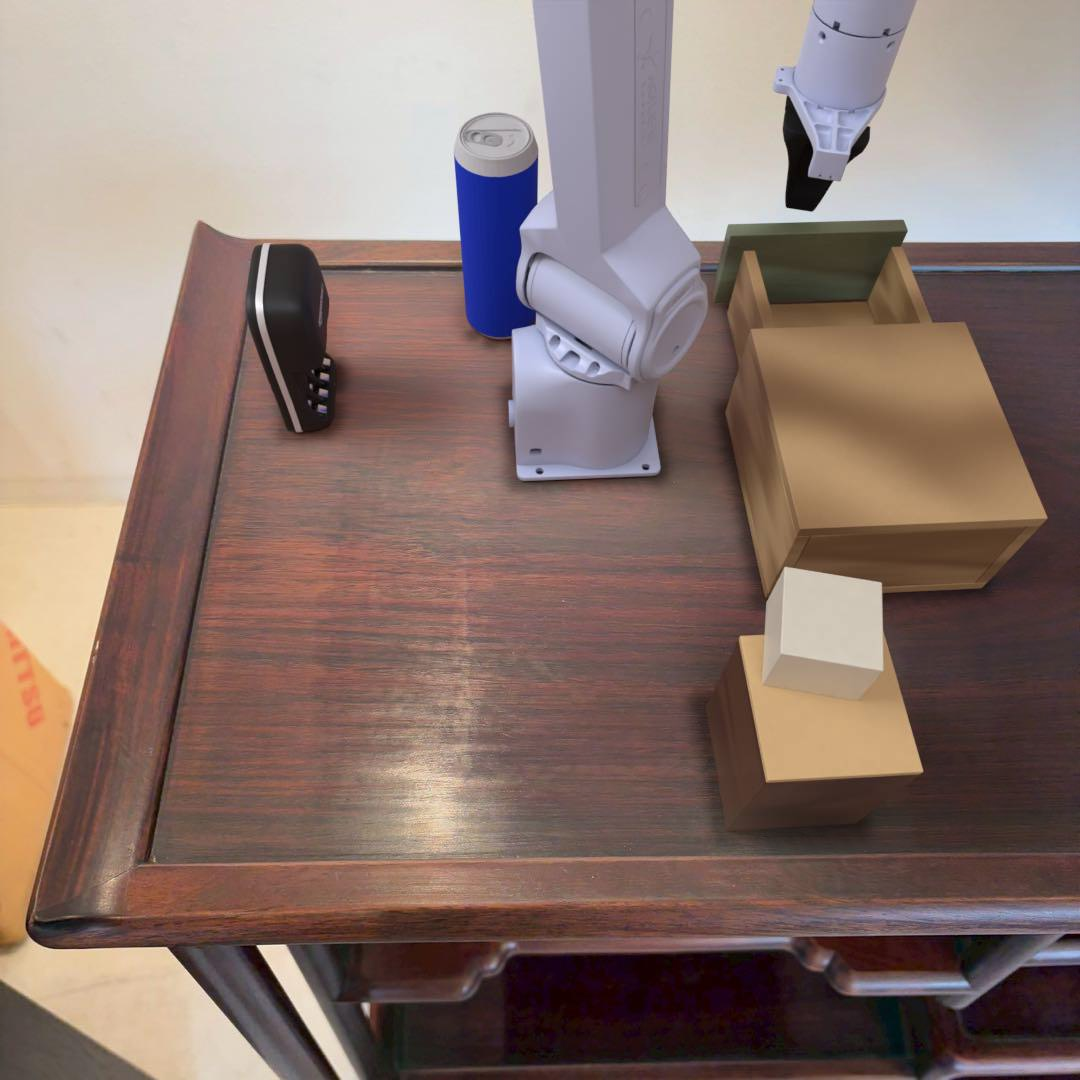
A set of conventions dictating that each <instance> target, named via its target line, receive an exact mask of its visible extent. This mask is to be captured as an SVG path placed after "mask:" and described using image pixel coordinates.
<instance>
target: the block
mask: <svg viewBox="0 0 1080 1080" xmlns="http://www.w3.org/2000/svg"><path fill="white" fill-rule="evenodd" d="M765 603H766V604H765V620H764V635H765V636H764V654H763V672H762V684H763V685H768V686H773V687H779V688H785V689H791V690H796V691H802V692H808V693H814V694H819V695H825V696H831V697H836V698H842V699H848V700H854V701H857V700H858V699H859V698H860V697H861V696H862V695H863V694H864V692H865V691H866V690H867V689H868V688H869V687H870V686H871V685H872V683H873V682H874V681H875V680H876V679H877V678H878V677H879V676H880V674H881V673H882V672H883V671H884V657H883V631H884V617H883V616H884V614H883V613H884V611H883V607H884V606H883V593H882V583H881V582H876V581H870V580H863V579H857V578H851V577H845V576H839V575H833V574H827V573H821V572H815V571H808V570H802V569H796V568H790V567H784V569H783V571H782V573H781V575H780V577H779V579H778V581H777V583H776V585H775V587H774V589H773V591H772V593H771V595H770V597H769V598H767V600H766V602H765Z"/></svg>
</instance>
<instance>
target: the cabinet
mask: <svg viewBox="0 0 1080 1080" xmlns="http://www.w3.org/2000/svg"><path fill="white" fill-rule="evenodd" d="M724 413H725V417H726V423H727V427H728V432H729V437H730V441H731V446H732V451H733V455H734V460H735V465H736V469H737V470H736V471H737V474H738V479H739V483H740V488H741V493H742V498H743V501H744V502H743V503H744V506H745V512H746V515H747V520H748V526H749V529H750V535H751V539H752V544H753V548H754V553H755V558H756V562H757V567H758V573H759V577H760V580H761V586H762V589H763V595H764V598H765V599H769V597H770V595H771V593H772V591H773V589H774V587H775V585H776V583H777V581H778V579H779V577H780V575H781V573H782V571H783V569H784V567H790V568H796V569H802V570H808V571H815V572H821V573H827V574H833V575H839V576H845V577H851V578H857V579H863V580H870V581H876V582H881V583H882V594H890V593H911V592H912V593H915V592H931V591H934V592H935V591H955V590H977V589H983V588H984V587H985V586H986V585H987V584H988V582H989V581H991V579H992V578H993V577H994V576H995V575H997V573H998V572H999V571H1000V570H1001V569H1002V568H1003V567H1004V566H1005V565H1006V563H1008V562H1009V560H1010V559H1011V558H1012V557H1013V556H1014V555H1015V554H1016V553H1017V552H1018V551H1019V550H1020V549H1021V548H1022V547H1023V545H1024V544H1026V542H1027V541H1029V539H1030V538H1031V537H1032V536H1033V535H1034V534H1035V533H1036V532H1037V531H1038V530H1039V528H1040V527H1041V526H1042V525H1043V524H1044V523H1045V522H1046V521H1047V520H1048V519H1049V518H1048V515H1047V513H1046V510H1045V508H1044V505H1043V503H1042V501H1041V498H1040V496H1039V494H1038V491H1037V489H1036V487H1035V484H1034V482H1033V480H1032V477H1031V475H1030V472H1029V470H1028V468H1027V465H1026V463H1025V461H1024V460H1025V459H1024V458H1023V456H1022V454H1021V451H1020V449H1019V446H1018V444H1017V441H1016V439H1015V437H1014V434H1013V433H1012V430H1011V427H1010V425H1009V423H1008V419H1007V418H1006V416H1005V413H1004V411H1003V408H1002V406H1001V404H1000V402H999V399H998V396H997V394H996V391H995V390H994V387H993V384H992V382H991V381H990V377H989V375H988V373H987V371H986V367H985V366H984V364H983V361H982V359H981V356H980V354H979V351H978V349H977V347H976V343H975V342H974V339H973V337H972V335H971V332H970V330H969V328H968V326H967V323H966V322H965V321H950V322H948V321H947V322H946V321H945V322H932V323H914V324H884V325H853V326H822V327H792V328H761V329H750V332H749V336H748V340H747V343H746V346H745V350H744V353H743V356H742V359H741V363H740V366H739V365H738V370H737V373H736V376H735V379H734V383H733V386H732V389H731V393H730V395H729V399H728V403H727V406H726V409H725V412H724Z"/></svg>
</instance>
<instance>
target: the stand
mask: <svg viewBox="0 0 1080 1080" xmlns="http://www.w3.org/2000/svg"><path fill="white" fill-rule="evenodd" d="M705 710H706V715H707V721H708V729H709V734H710V740H711V746H712V747H711V748H712V753H713V759H714V762H715V763H714V764H715V765H714V766H715V770H716V777H717V783H718V789H719V794H720V801H721V806H722V812H723V820H724V825H725V830H726V831H727V832H733V831H734V832H735V831H750V830H751V831H752V830H766V829H767V830H768V829H769V830H770V829H784V828H785V829H786V828H801V827H802V828H803V827H804V828H805V827H820V826H836V825H838V826H839V825H854V824H857V823H859V821H861V820H862V819H864V818H865V817H866V816H867V815H869V814H871V813H872V812H873V811H874V810H875V809H877V808H878V807H879V806H881V804H884V802H886V801H887V800H889V799H890V798H891V797H893V796H894V795H895V794H896V793H898V792H899V791H901V789H903V788H905V786H907V785H908V784H910V783H911V782H912V781H914V780H915V779H916V778H917V777H918V776H920V775H921V774H917V775H899V776H881V777H863V778H845V779H827V780H809V781H791V782H773V783H766V779H765V774H764V769H763V764H762V758H761V753H760V748H759V743H758V738H757V732H756V727H755V722H754V717H753V712H752V706H751V701H750V696H749V691H748V686H747V680H746V675H745V670H744V665H743V660H742V654H741V649H740V644H739V639H738V640H737V642H736V644H735V646H734V647H733V650H732V652H731V654H730V656H729V658H728V660H727V662H726V664H725V666H724V668H723V670H722V672H721V674H720V676H719V678H718V680H717V682H716V684H715V687H714V689H713V690H712V692H711V695H710V696H709V699H708V700H707V703H706V704H705Z"/></svg>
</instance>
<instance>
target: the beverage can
mask: <svg viewBox="0 0 1080 1080" xmlns="http://www.w3.org/2000/svg"><path fill="white" fill-rule="evenodd" d="M453 160H454V173H455V175H454V176H455V187H456V188H455V189H456V200H457V201H456V202H457V213H458V227H459V239H460V252H461V253H460V255H461V265H462V278H463V290H464V291H463V292H464V301H465V302H464V305H465V315H466V319H467V322H468V323H469V325H470V327H472V329H474V330H475V331H476V332H478V333H479V334H481V335H482V336H484V337H486V338H489V339H492V340H493V339H494V340H508V339H509V340H510V339H512V330H513V329H518V328H523V327H528V326H531V325H533V323H534V321H535V320H536V312H537V311H535V310H533V309H530V308H528V307H527V306H525V305H524V304H523V303H522V302H521V301H520V299H519V297H518V295H517V290H516V278H517V267H518V263H519V259H520V256H521V250H522V244H521V235H520V226H521V225H522V223H523V222H524V221H525V219H526V218H527V217H528V215H529V214H530V212H531V211H532V210H533V208H534V207H535V206H536V205H537V204H538V203H539V201H538V200H539V199H538V196H539V195H538V194H539V191H538V190H539V145H538V142H537V139H536V137H535V133H534V131H533V129H532V126H531V125H530V124H529V123H528V122H527V121H526V120H524V119H522V117H519V116H517V115H515V114H511V113H508V112H499V111H498V112H497V111H494V112H493V111H492V112H485V113H480V114H478V115H474V116H472V117H471V118H469V119H467V120H466V121H465V122H464V123H463V124H462V125H461V126H460V127H459V129H458V132H457V134H456V138H455V143H454V147H453Z"/></svg>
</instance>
